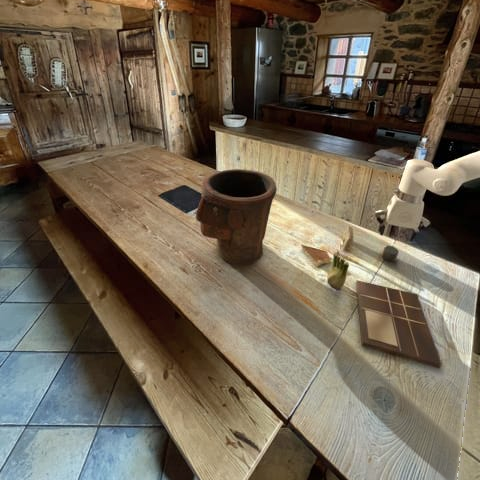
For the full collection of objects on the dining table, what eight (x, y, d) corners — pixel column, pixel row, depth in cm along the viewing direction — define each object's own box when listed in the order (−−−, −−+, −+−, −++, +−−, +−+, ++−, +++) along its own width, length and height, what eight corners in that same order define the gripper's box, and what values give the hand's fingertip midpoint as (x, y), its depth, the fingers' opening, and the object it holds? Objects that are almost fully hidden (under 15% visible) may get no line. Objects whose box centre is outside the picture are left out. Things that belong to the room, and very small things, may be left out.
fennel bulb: (344, 291, 87) (351, 264, 81) (329, 292, 86) (336, 264, 81) (338, 278, 92) (344, 251, 87) (324, 278, 92) (329, 251, 86)
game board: (415, 297, 85) (417, 293, 84) (439, 368, 66) (441, 364, 65) (355, 283, 90) (356, 279, 89) (362, 345, 71) (363, 341, 70)
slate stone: (394, 255, 103) (397, 247, 101) (397, 263, 98) (400, 255, 97) (380, 252, 104) (383, 244, 102) (382, 260, 100) (385, 252, 98)
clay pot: (188, 242, 107) (182, 175, 94) (251, 223, 119) (253, 162, 106) (211, 288, 87) (208, 211, 74) (284, 260, 99) (292, 189, 86)
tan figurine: (337, 253, 103) (337, 235, 113) (348, 258, 102) (347, 238, 112) (344, 240, 99) (343, 222, 109) (356, 244, 98) (354, 226, 109)
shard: (300, 247, 106) (301, 243, 105) (316, 243, 108) (317, 240, 107) (316, 266, 96) (316, 263, 96) (333, 262, 99) (334, 258, 98)
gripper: (383, 196, 88) (370, 237, 96) (443, 205, 84) (425, 247, 91) (379, 186, 95) (368, 225, 102) (435, 194, 90) (418, 234, 98)
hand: (395, 235), depth 97 cm, fingers open, 9 cm apart
